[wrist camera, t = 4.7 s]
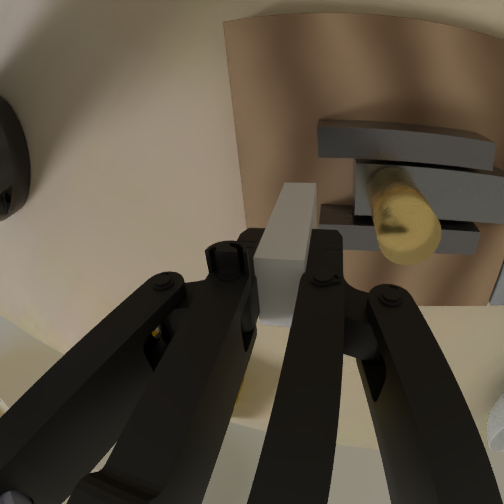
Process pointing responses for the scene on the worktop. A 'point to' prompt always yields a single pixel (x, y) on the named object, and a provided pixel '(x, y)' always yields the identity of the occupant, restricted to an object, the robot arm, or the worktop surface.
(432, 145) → the bolt housing
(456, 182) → the bolt
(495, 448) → the cereal bowl
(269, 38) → the door and jamb
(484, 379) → the worktop surface
